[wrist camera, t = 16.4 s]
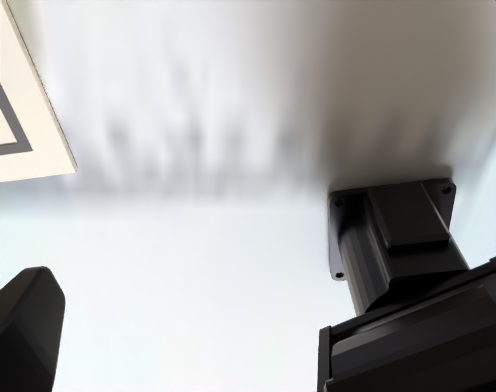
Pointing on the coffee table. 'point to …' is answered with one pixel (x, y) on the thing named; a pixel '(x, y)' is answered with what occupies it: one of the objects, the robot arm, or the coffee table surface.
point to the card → (26, 114)
